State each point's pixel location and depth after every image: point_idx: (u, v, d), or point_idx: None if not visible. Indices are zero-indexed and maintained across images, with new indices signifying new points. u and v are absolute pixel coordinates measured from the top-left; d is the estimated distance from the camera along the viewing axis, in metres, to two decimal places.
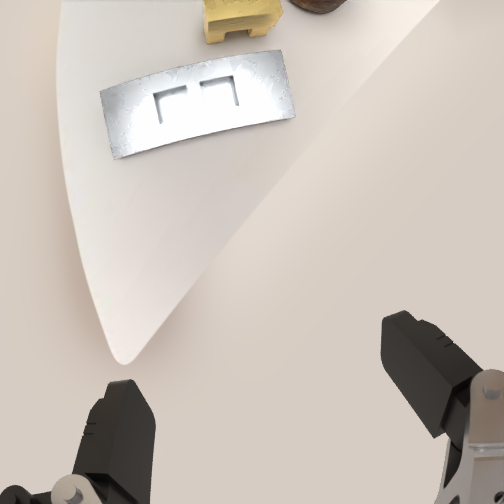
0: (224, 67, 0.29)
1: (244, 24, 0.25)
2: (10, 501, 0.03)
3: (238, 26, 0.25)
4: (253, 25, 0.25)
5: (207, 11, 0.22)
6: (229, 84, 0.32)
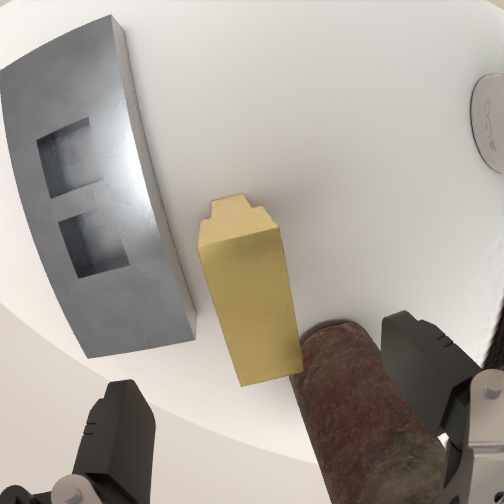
0: (143, 249, 0.16)
1: None
2: (10, 501, 0.03)
3: None
4: None
5: (229, 242, 0.11)
6: None
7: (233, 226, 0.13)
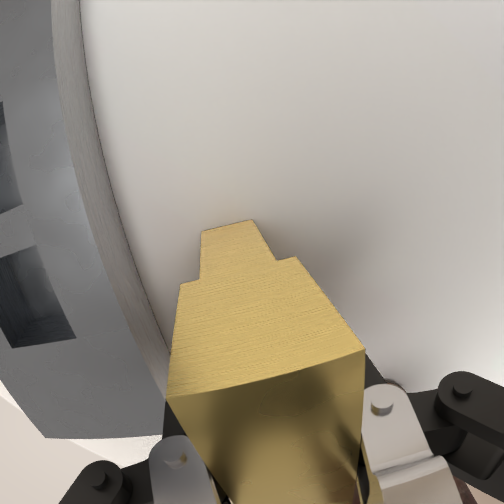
0: (93, 317, 0.09)
1: None
2: (96, 479, 0.05)
3: None
4: None
5: (245, 389, 0.04)
6: None
7: (248, 324, 0.06)
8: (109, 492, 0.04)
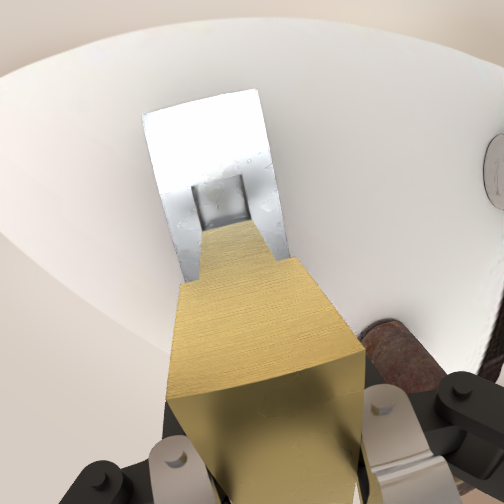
0: None
1: None
2: (96, 479, 0.05)
3: None
4: None
5: (245, 390, 0.04)
6: None
7: (248, 324, 0.06)
8: (109, 492, 0.04)
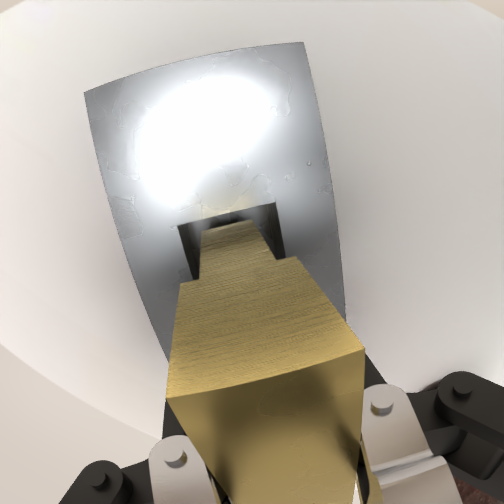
0: None
1: None
2: (96, 479, 0.05)
3: None
4: None
5: (244, 389, 0.04)
6: None
7: (248, 323, 0.06)
8: (109, 492, 0.04)
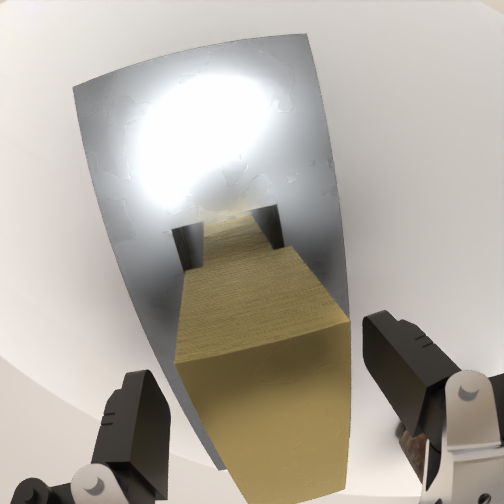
0: None
1: None
2: (27, 494, 0.04)
3: None
4: None
5: (244, 355, 0.05)
6: None
7: (247, 302, 0.06)
8: None
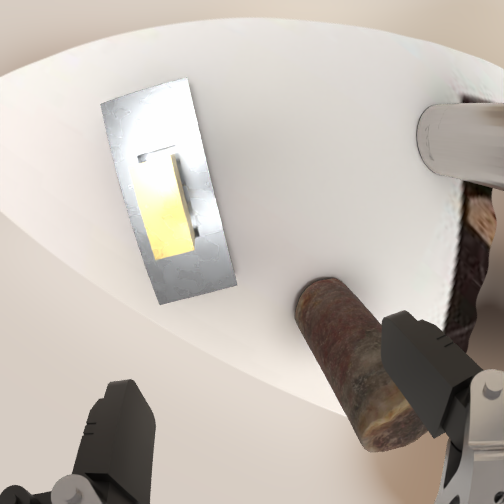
0: (209, 226, 0.28)
1: None
2: (10, 500, 0.03)
3: None
4: None
5: (144, 164, 0.20)
6: (193, 227, 0.31)
7: None
8: None
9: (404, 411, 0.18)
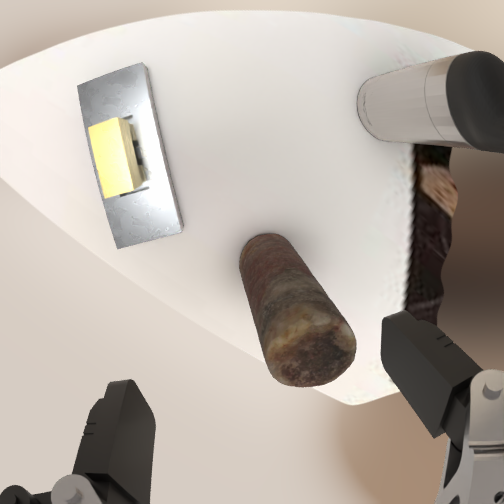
0: (157, 180, 0.32)
1: None
2: (10, 501, 0.03)
3: None
4: None
5: (99, 124, 0.24)
6: (148, 184, 0.35)
7: None
8: None
9: (305, 335, 0.22)
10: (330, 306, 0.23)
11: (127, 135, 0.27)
